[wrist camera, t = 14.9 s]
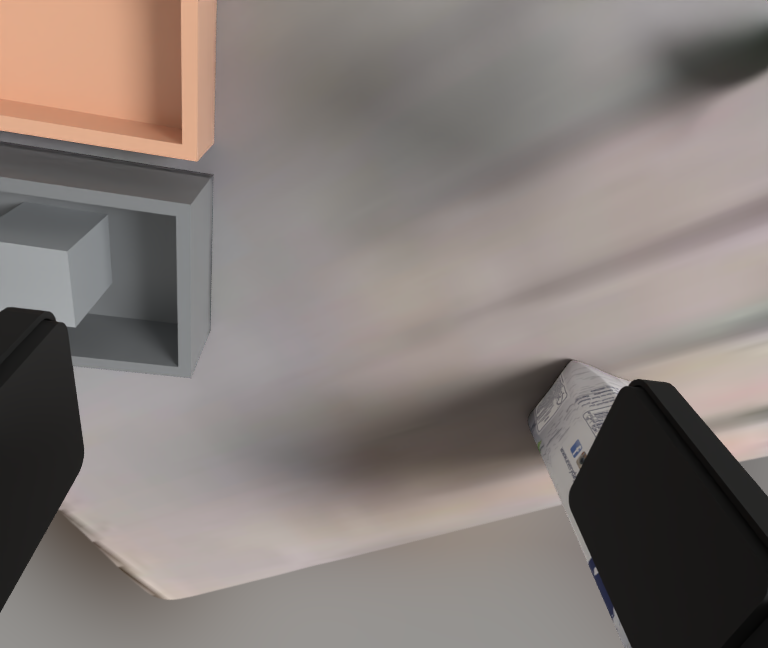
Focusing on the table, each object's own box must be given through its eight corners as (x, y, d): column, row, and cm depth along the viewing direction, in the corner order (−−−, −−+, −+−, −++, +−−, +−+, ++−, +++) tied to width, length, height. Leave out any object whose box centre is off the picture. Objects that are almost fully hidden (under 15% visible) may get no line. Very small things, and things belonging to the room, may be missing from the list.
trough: (-175, -181, 25) (-268, -214, 21) (218, -92, 28) (198, -107, 24) (-105, 91, 31) (-168, 103, 27) (214, 143, 34) (197, 161, 30)
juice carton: (566, 344, 44) (817, 731, 20) (666, 383, 46) (986, 763, 23) (509, 422, 48) (665, 820, 24) (604, 453, 50) (824, 838, 27)
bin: (-96, 126, 32) (-179, 150, 27) (213, 174, 35) (190, 204, 30) (-51, 300, 38) (-112, 347, 33) (210, 330, 41) (191, 378, 36)
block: (24, 201, 34) (-32, 237, 29) (107, 214, 35) (67, 251, 30) (35, 272, 37) (-16, 316, 32) (112, 282, 37) (75, 327, 32)
